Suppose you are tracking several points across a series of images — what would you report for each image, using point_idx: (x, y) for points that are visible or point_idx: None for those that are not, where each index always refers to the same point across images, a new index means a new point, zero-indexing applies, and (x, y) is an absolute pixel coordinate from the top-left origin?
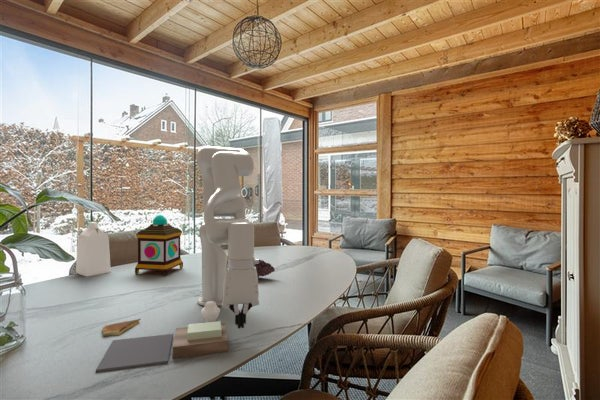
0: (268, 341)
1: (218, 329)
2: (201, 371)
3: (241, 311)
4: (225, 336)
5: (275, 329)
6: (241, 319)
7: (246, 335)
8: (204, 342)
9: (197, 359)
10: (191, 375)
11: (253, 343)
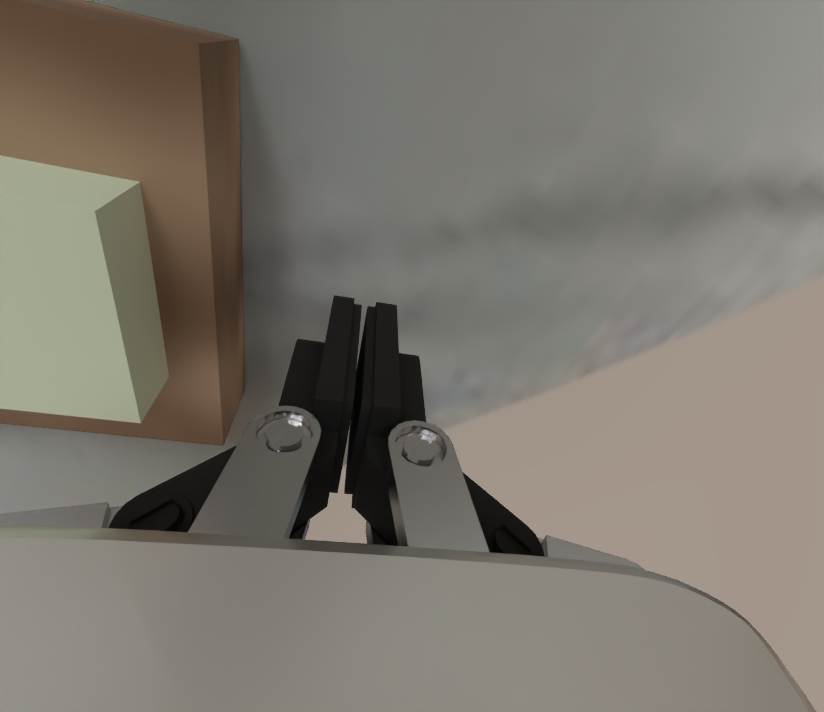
0: (538, 370)
1: (106, 414)
2: (103, 493)
3: (362, 466)
4: (205, 385)
5: (727, 212)
6: (348, 453)
7: (440, 214)
8: (28, 416)
9: None
10: (59, 503)
11: (435, 357)
